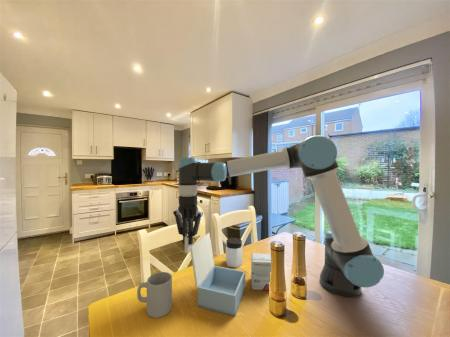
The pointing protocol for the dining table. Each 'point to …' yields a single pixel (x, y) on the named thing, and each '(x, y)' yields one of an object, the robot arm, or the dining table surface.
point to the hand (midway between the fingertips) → (187, 251)
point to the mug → (157, 294)
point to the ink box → (260, 271)
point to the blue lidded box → (222, 290)
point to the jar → (233, 252)
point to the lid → (202, 258)
